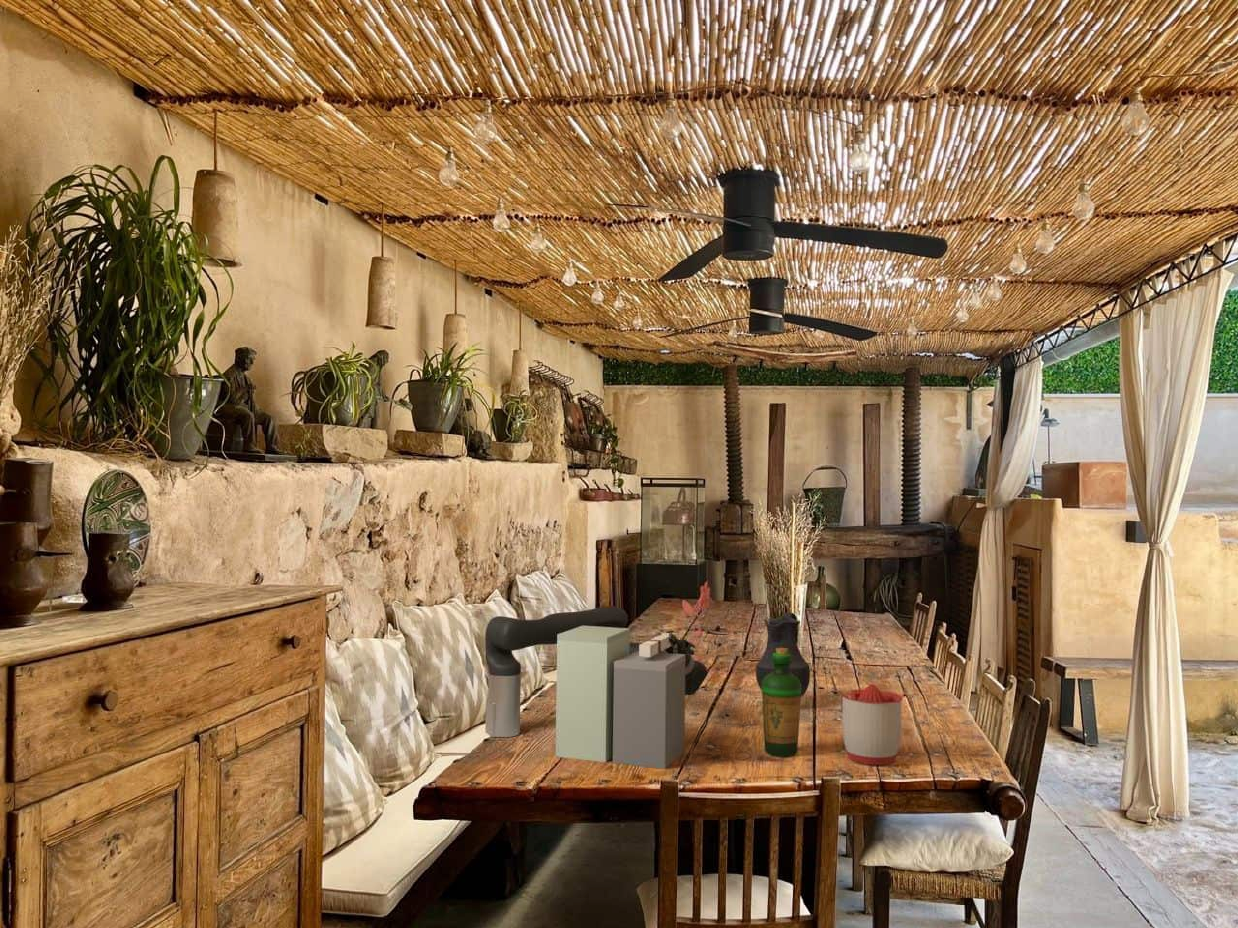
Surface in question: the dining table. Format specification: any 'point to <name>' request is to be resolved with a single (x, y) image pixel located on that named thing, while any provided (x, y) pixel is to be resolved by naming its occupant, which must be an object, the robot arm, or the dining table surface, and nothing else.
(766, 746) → the bottle
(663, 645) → the pale wooden bar
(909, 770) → the dining table surface
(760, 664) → the pitcher
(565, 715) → the sage green tall pillar
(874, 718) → the citrus juicer
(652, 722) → the block
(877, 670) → the dining table surface
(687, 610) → the pink translucent sprig
